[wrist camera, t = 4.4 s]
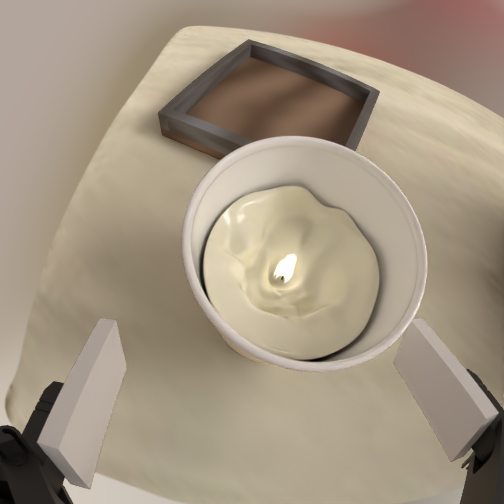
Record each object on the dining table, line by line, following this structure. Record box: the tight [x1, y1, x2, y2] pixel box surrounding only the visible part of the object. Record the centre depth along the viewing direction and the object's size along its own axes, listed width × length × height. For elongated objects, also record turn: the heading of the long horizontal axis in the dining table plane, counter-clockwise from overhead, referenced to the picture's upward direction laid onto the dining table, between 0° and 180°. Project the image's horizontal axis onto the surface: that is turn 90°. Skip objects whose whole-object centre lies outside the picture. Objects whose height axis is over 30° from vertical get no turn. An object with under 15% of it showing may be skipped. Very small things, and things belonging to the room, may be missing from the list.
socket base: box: [158, 39, 380, 160], centre depth 28 cm, size 17×17×3 cm
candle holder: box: [182, 136, 427, 372], centre depth 17 cm, size 10×10×12 cm
